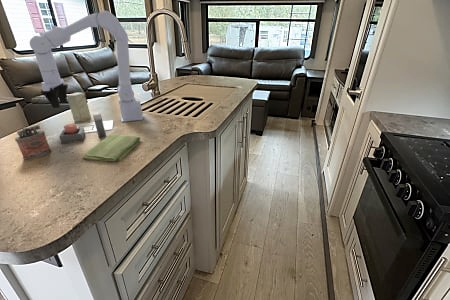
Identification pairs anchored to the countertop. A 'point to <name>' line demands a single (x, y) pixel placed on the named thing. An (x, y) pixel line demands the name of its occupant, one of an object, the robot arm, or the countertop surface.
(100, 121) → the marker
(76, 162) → the countertop surface
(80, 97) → the skincare box
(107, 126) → the paper sheet
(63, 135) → the button housing
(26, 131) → the lighter
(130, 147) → the washcloth
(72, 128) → the button
